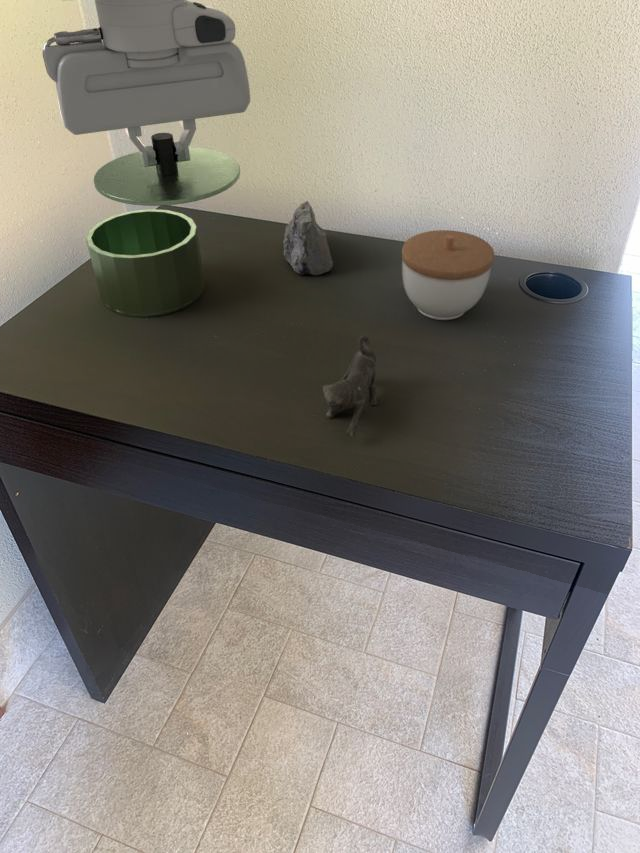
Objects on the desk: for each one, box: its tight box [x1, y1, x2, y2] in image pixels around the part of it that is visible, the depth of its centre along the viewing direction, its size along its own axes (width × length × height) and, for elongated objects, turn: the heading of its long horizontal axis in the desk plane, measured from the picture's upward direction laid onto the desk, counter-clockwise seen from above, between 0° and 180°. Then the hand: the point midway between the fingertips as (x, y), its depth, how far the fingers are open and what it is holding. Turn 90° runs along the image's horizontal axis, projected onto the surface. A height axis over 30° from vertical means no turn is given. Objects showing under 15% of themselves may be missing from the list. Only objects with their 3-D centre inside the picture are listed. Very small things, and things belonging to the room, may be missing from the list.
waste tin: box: [85, 208, 205, 318], centre depth 102 cm, size 16×16×10 cm
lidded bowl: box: [401, 229, 495, 321], centre depth 97 cm, size 13×13×11 cm
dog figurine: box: [322, 334, 378, 437], centre depth 81 cm, size 12×6×7 cm, turn 159°
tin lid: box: [93, 132, 241, 207], centre depth 78 cm, size 17×17×5 cm
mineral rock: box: [282, 200, 334, 276], centre depth 109 cm, size 13×11×10 cm
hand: (166, 162), depth 78 cm, fingers closed on tin lid, 2 cm apart
